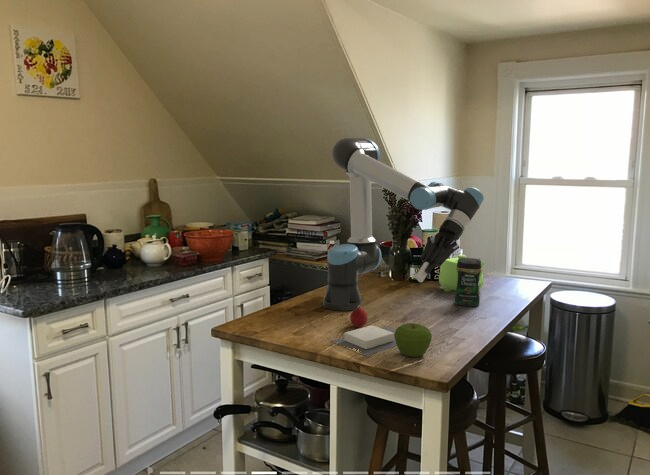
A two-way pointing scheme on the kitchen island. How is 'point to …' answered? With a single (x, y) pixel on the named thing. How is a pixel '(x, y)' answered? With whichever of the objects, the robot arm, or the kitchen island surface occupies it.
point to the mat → (370, 350)
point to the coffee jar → (468, 282)
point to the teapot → (453, 274)
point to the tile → (369, 337)
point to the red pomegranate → (358, 317)
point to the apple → (413, 339)
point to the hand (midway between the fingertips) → (418, 279)
